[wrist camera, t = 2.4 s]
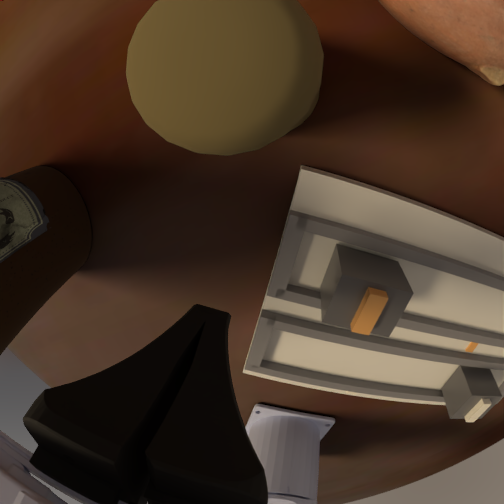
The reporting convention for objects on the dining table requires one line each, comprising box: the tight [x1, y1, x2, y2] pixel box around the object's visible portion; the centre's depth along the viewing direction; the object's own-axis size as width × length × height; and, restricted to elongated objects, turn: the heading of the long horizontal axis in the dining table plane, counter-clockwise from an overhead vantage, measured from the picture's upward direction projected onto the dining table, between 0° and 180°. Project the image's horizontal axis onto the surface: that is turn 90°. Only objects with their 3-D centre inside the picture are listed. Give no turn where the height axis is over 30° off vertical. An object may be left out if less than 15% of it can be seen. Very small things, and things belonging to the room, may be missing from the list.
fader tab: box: [320, 244, 414, 337], centre depth 16 cm, size 3×4×4 cm
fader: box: [441, 365, 502, 422], centre depth 19 cm, size 3×4×4 cm
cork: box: [126, 0, 324, 156], centre depth 10 cm, size 6×6×11 cm
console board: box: [243, 165, 504, 405], centre depth 19 cm, size 16×26×2 cm, turn 78°
